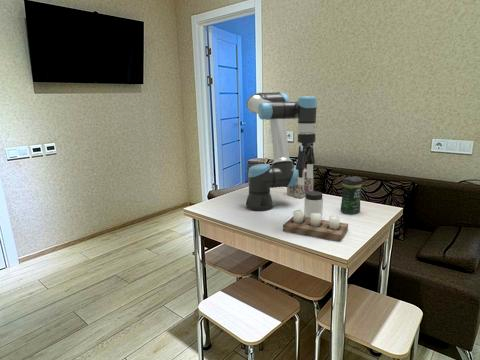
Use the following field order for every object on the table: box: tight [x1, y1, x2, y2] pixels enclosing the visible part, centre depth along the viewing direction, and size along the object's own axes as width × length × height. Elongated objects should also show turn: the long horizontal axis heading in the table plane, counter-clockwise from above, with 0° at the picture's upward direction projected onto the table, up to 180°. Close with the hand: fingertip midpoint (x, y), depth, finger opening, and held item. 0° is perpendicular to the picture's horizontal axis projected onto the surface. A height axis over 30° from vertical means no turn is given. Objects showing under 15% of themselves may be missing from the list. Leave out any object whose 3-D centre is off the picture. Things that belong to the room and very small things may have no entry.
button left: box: [292, 209, 304, 224], centre depth 143 cm, size 4×4×5 cm
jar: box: [303, 190, 324, 218], centre depth 157 cm, size 9×8×12 cm
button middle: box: [310, 213, 322, 227], centre depth 139 cm, size 4×4×5 cm
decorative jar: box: [286, 166, 315, 199], centre depth 195 cm, size 12×12×18 cm
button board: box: [282, 216, 349, 243], centre depth 140 cm, size 25×14×3 cm, turn 60°
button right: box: [328, 214, 341, 230], centre depth 135 cm, size 4×4×5 cm
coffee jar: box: [340, 175, 363, 215], centre depth 162 cm, size 10×8×19 cm
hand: (305, 181), depth 141 cm, fingers open, 13 cm apart
